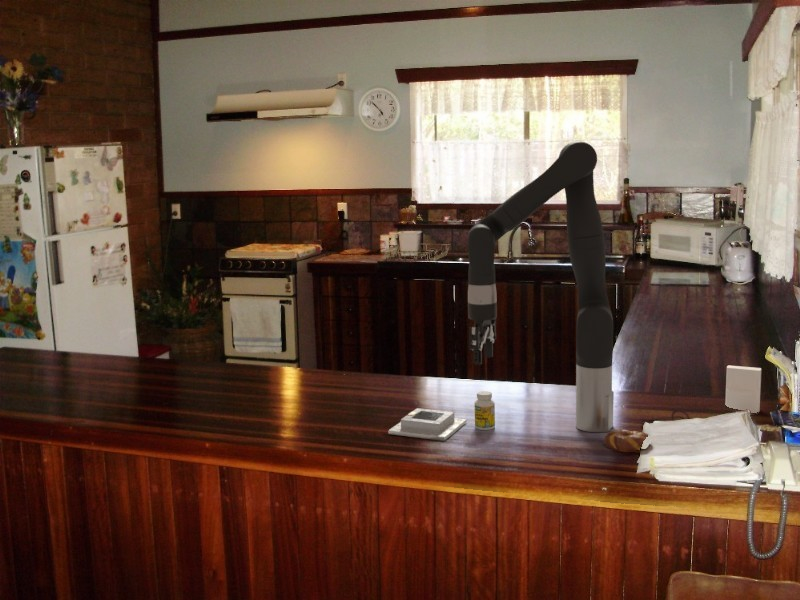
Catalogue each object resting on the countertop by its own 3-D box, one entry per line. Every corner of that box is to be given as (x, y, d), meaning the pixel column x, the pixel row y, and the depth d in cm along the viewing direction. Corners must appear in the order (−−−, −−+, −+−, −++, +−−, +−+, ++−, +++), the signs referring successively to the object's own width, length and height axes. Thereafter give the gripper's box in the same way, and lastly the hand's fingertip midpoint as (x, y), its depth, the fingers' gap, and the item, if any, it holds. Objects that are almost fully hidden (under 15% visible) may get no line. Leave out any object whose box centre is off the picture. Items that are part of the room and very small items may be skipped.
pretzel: (644, 438, 229) (645, 424, 229) (658, 453, 219) (658, 438, 218) (598, 439, 229) (598, 425, 228) (609, 454, 218) (609, 439, 218)
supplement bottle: (498, 426, 241) (497, 391, 240) (490, 431, 237) (489, 396, 235) (479, 423, 244) (479, 389, 242) (471, 429, 239) (471, 394, 238)
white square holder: (466, 422, 245) (466, 409, 244) (444, 440, 230) (444, 427, 230) (412, 416, 251) (412, 404, 251) (388, 433, 237) (388, 420, 236)
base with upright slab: (722, 412, 249) (724, 370, 247) (727, 403, 256) (729, 362, 254) (757, 415, 244) (759, 373, 242) (761, 407, 252) (763, 365, 250)
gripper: (486, 306, 227) (487, 368, 230) (504, 296, 240) (505, 355, 243) (458, 304, 230) (460, 365, 233) (478, 295, 243) (479, 353, 246)
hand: (483, 360), depth 238 cm, fingers open, 8 cm apart
